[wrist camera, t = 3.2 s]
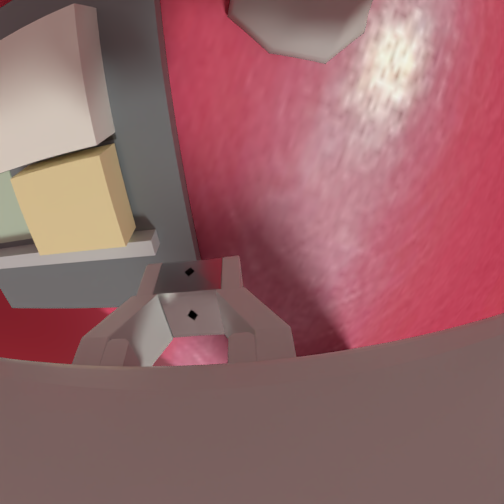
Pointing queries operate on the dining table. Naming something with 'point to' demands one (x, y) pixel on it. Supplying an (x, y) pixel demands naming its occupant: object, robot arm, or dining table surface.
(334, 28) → the flask
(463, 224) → the dining table surface
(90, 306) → the ticket board
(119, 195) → the stub
